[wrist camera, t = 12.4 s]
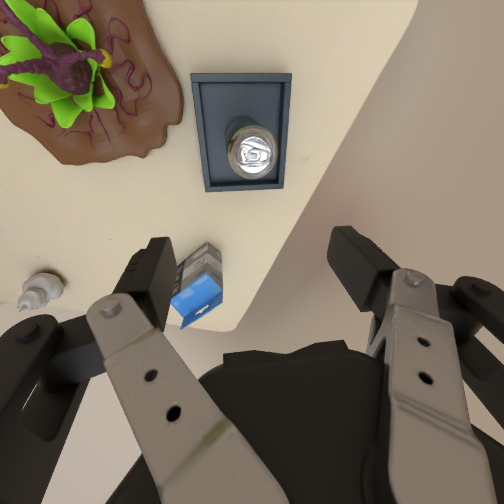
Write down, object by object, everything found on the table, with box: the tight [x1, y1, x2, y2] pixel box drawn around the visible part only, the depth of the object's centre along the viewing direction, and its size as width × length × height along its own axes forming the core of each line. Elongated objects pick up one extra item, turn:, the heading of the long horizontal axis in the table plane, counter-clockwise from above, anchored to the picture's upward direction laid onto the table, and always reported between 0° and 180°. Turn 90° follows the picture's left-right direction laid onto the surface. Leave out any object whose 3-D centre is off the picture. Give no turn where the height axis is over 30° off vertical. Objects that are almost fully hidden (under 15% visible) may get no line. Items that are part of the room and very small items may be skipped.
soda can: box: [225, 116, 278, 179], centre depth 26 cm, size 5×5×12 cm
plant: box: [0, 0, 183, 165], centre depth 21 cm, size 20×20×11 cm
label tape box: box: [170, 243, 223, 330], centre depth 38 cm, size 9×4×12 cm, turn 128°
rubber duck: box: [17, 273, 63, 311], centre depth 38 cm, size 5×7×8 cm
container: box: [190, 73, 292, 192], centre depth 30 cm, size 14×12×3 cm
